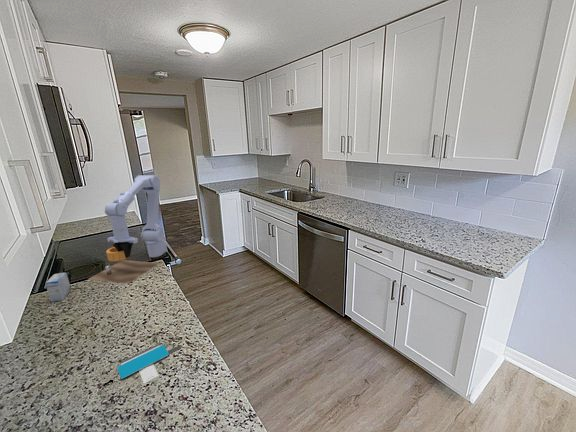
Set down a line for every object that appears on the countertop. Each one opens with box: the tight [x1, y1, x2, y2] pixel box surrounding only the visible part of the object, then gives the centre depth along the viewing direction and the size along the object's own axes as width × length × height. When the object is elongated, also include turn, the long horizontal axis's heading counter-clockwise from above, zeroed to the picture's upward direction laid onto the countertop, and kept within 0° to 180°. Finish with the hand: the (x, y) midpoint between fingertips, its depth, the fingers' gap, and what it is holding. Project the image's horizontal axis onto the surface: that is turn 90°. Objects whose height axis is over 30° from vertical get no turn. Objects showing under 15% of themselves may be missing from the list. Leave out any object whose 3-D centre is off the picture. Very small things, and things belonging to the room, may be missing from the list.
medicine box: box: [45, 272, 72, 302], centre depth 109 cm, size 8×4×9 cm, turn 21°
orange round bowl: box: [105, 246, 130, 262], centre depth 123 cm, size 9×9×4 cm
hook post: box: [104, 264, 112, 275], centre depth 123 cm, size 2×2×4 cm
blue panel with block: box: [117, 342, 182, 385], centre depth 74 cm, size 20×12×2 cm, turn 130°
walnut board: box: [87, 259, 160, 284], centre depth 127 cm, size 20×22×2 cm
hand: (126, 256), depth 123 cm, fingers closed on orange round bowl, 2 cm apart
